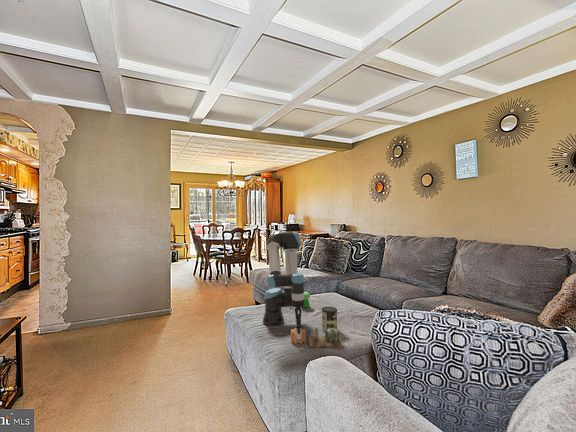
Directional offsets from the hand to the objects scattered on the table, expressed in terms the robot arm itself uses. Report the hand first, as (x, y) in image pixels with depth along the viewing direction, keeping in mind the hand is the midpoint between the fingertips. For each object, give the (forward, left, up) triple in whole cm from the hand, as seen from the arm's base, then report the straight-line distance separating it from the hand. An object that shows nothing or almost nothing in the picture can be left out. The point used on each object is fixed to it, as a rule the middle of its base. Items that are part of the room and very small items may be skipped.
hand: (298, 334), depth 185 cm
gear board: (+16, -3, -4) cm, 17 cm away
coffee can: (+21, +16, -4) cm, 27 cm away
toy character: (+4, +64, -4) cm, 64 cm away
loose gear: (0, 0, -4) cm, 4 cm away
